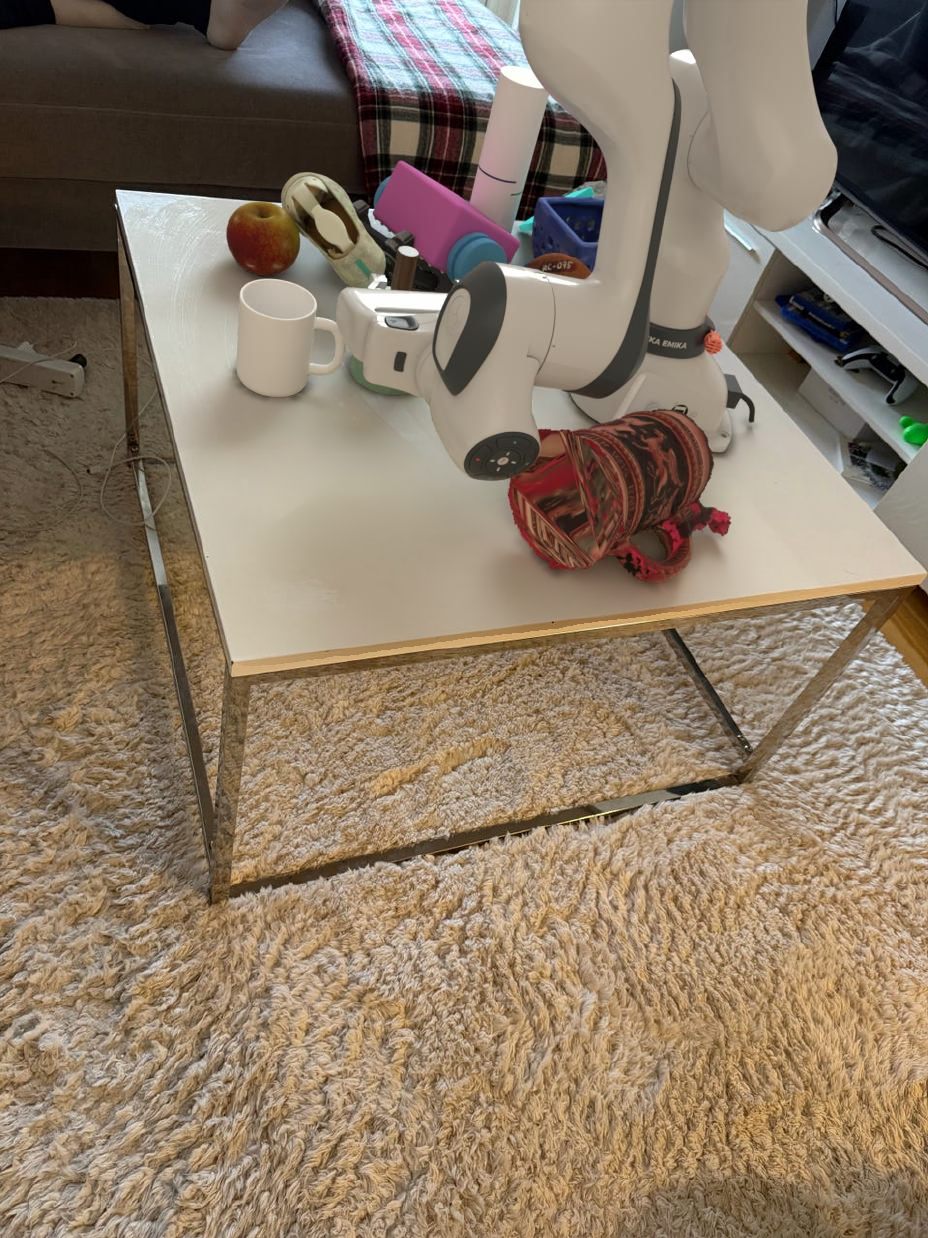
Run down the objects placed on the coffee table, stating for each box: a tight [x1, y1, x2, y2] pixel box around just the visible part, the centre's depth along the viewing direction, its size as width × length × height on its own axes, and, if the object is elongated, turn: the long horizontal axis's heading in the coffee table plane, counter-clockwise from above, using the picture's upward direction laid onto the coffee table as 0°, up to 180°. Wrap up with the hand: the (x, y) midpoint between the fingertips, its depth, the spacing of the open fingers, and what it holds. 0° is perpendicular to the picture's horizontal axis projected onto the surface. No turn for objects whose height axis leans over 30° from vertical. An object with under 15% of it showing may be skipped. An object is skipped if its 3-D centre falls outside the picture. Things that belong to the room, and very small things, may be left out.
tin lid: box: [385, 246, 420, 291], centre depth 101 cm, size 10×10×8 cm
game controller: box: [351, 199, 440, 292], centre depth 123 cm, size 16×7×10 cm, turn 48°
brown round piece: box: [525, 253, 592, 279], centre depth 124 cm, size 12×12×7 cm
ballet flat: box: [280, 171, 386, 288], centre depth 116 cm, size 8×25×8 cm
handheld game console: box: [518, 187, 594, 233], centre depth 138 cm, size 10×16×1 cm
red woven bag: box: [507, 409, 732, 584], centre depth 97 cm, size 17×28×18 cm
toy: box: [372, 160, 521, 284], centre depth 125 cm, size 28×9×15 cm
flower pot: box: [525, 196, 605, 272], centre depth 130 cm, size 13×13×12 cm
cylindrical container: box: [469, 65, 550, 235], centre depth 128 cm, size 7×7×25 cm
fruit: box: [225, 201, 301, 277], centre depth 116 cm, size 10×9×8 cm
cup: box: [235, 278, 346, 398], centre depth 101 cm, size 8×12×10 cm
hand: (417, 282), depth 96 cm, fingers open, 8 cm apart
